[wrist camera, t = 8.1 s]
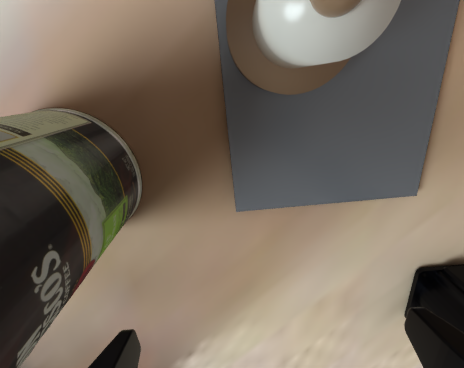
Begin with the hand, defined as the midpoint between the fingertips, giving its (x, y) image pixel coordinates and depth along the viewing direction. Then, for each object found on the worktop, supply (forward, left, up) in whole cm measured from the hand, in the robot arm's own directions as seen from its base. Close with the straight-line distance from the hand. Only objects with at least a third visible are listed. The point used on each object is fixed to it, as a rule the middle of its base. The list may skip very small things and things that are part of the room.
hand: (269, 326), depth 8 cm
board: (+6, -6, -12) cm, 15 cm away
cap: (+10, -3, -9) cm, 14 cm away
